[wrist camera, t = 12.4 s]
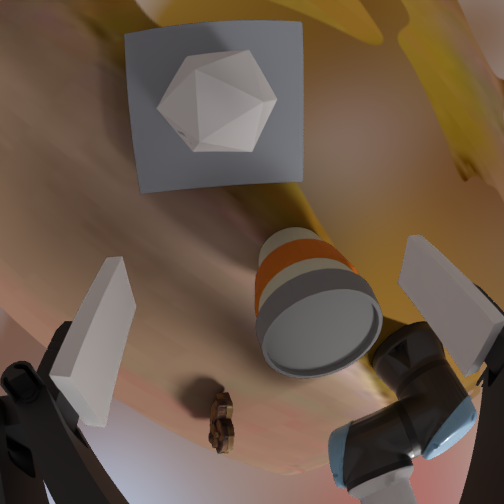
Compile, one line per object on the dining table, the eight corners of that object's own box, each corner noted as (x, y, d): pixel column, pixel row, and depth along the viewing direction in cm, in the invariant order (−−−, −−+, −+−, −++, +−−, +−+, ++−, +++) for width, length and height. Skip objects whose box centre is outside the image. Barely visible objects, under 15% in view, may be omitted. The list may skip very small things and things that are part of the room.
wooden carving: (207, 383, 53) (208, 430, 44) (232, 383, 53) (236, 429, 45) (208, 424, 61) (209, 462, 52) (228, 424, 61) (231, 462, 53)
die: (171, 56, 23) (120, 120, 19) (256, 18, 19) (222, 73, 15) (217, 117, 29) (185, 189, 25) (296, 94, 25) (282, 170, 21)
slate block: (287, 32, 27) (301, 21, 22) (289, 166, 35) (302, 181, 30) (139, 42, 26) (124, 34, 21) (151, 176, 34) (140, 194, 29)
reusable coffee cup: (236, 291, 43) (247, 379, 30) (255, 206, 37) (278, 279, 24) (320, 298, 45) (354, 377, 32) (349, 221, 39) (405, 290, 26)
